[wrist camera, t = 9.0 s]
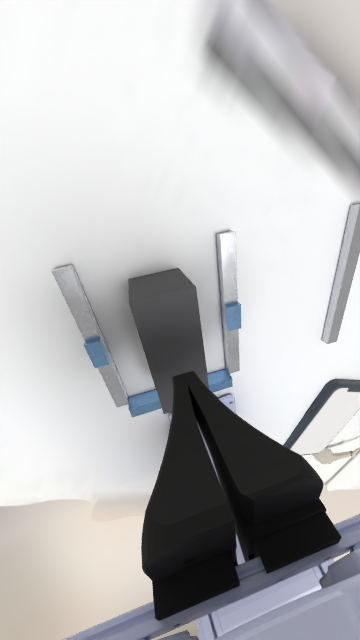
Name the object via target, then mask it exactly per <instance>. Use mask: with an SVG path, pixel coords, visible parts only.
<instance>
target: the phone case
mask: <svg viewBox="0 0 360 640" xmlns="http://www.w3.org/2000/svg"><path fill="white" fill-rule="evenodd" d="M359 409H360V380H341V379H334V380H331V381H330V382H328V383H327V384H326V385H325V386H324V388H323V389H322V391H321V392H320V394H319V395H318V396H317V398H316V399H315V401H314V402H313V404H312V405H311V407H310V408H309V409H308V411H307V412H306V414H305V415H304V417H303V418H302V419H301V421H300V422H299V424H298V425H297V427H296V428H295V430H294V431H293V432H292V434H291V435H290V437H289V438H288V440H287V441H286V443H285V444H284V446H285V447H287V448H288V449H290V450H292V451H294V452H296V453H298V454H300V455H310V454H317V453H320V452H322V451H323V450H324V449H325V448H326V447H327V445H328V444H329V443H330V442H331V441H332V440H333V439H334V437H335V436H336V435H337V434H338V433H339V432H340V431H341V429H342V428H343V427H344V426H345V425H346V424H347V422H348V421H349V420H350V419H351V418H352V417H353V416H354V414H355V413H356V412H357V411H358V410H359Z"/></svg>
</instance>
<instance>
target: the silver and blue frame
mask: <svg viewBox="0 0 360 640" xmlns="http://www.w3.org/2000/svg"><path fill="white" fill-rule="evenodd" d="M216 238H217V252H218V265H219V279H220V293H221V307H222V321H223V335H224V349H225V362H226V369H223V370H220V371H217V372H213V373H210V374H207V376H208V384H209V390H210V391H211V392H216V391H219V390H222V389H225V388H229V387H232V377H231V376H230V373H233V372H236V371H239V337H238V329H239V328H241V304H240V303H238V302H237V268H236V234H235V231H227V232H223V233H218V234H216ZM359 253H360V203H359V204H354V205H351V206H350V210H349V215H348V220H347V224H346V229H345V234H344V238H343V243H342V248H341V253H340V257H339V262H338V267H337V271H336V276H335V281H334V285H333V290H332V295H331V299H330V304H329V309H328V313H327V318H326V323H325V327H324V332H323V337H322V341H324V342H325V343H327V344H329V343H333V342H336V341H337V338H338V334H339V330H340V326H341V323H342V319H343V315H344V311H345V307H346V303H347V299H348V295H349V292H350V288H351V284H352V280H353V276H354V272H355V268H356V264H357V261H358V257H359ZM52 273H53V275H54V277H55V279H56V281H57V283H58V285H59V287H60V289H61V291H62V294H63V296H64V298H65V300H66V302H67V304H68V306H69V308H70V310H71V312H72V314H73V317H74V319H75V321H76V323H77V325H78V327H79V329H80V331H81V333H82V335H83V337H84V339H85V344H84V346H85V348H86V350H87V353H88V355H89V357H90V359H91V361H92V363H93V365H94V367H95V368H97V367H98V369H99V371H100V373H101V375H102V377H103V379H104V381H105V383H106V385H107V388H108V390H109V392H110V394H111V396H112V398H113V400H114V402H115V404H116V406H117V407H120V406H123V405H127V404H129V411H130V413H131V415H132V417H135V416H138V415H141V414H145V413H148V412H151V411H154V410H157V409H161V408H162V406H161V403H160V400H159V397H158V394H157V390H153V391H150V392H146V393H143V394H139V395H136V396H133V397H128V394H127V392H126V390H125V387H124V385H123V383H122V380H121V378H120V375H119V373H118V371H117V368H116V366H115V364H114V361H113V359H112V356H111V354H110V352H109V349H108V347H107V345H106V342H105V340H104V337H103V335H102V333H101V330H100V328H99V326H98V323H97V321H96V318H95V316H94V314H93V311H92V309H91V307H90V304H89V302H88V299H87V297H86V295H85V292H84V290H83V288H82V285H81V283H80V280H79V278H78V276H77V273H76V271H75V269H74V266H73V264H72V265H68V266H63V267H58V268H55V269H53V270H52Z"/></svg>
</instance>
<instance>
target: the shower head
mask: <svg viewBox="0 0 360 640" xmlns="http://www.w3.org/2000/svg"><path fill="white" fill-rule="evenodd" d="M359 450H360V448H358V449H356V450H354V451H349V452H342V453H335V454H333V453H332V451H331V450H330V449H328V448H327V447H326V448H325V449H324V450H323V451H322V452H320V453H317V454H313V455H314V457H315V459H316V460H317V461H319V462H320V463H322V464H331V463H332V462H333V461H335V460H338V459H342V458H346V457H349V456H352V458H354V457H355V453H356V452H357V451H359Z"/></svg>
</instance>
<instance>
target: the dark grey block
mask: <svg viewBox="0 0 360 640" xmlns="http://www.w3.org/2000/svg"><path fill="white" fill-rule="evenodd" d="M129 304H130V307H131V310H132V313H133V316H134V320H135V323H136V326H137V329H138V333H139V336H140V339H141V342H142V345H143V349H144V352H145V355H146V358H147V361H148V365H149V368H150V371H151V374H152V377H153V381H154V384H155V387H156V390H157V394H158V397H159V400H160V403H161V406H162V410H163V413H164V414H166V413H169V412H172V409H173V381H172V378H173V376H177V375H180V374H183V373H187V372H190V371H195V372H196V374H197V375H198V377H199V378H200V379H201V380H202V382H203V383H204V384H205V385H206V386H207V387H208V388H209V384H208V376H207V369H206V361H205V353H204V346H203V338H202V330H201V323H200V315H199V308H198V300H197V292H196V287H195V286H194V285H193V283H192V282H191V281H190V280H189V279H188V278H187V277H186V276H185V275H184V274H183V273H182V272H181V271H180V269H179V268H177V269H172V270H168V271H163V272H159V273H155V274H150V275H146V276H141V277H137V278H133V279H129Z"/></svg>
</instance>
